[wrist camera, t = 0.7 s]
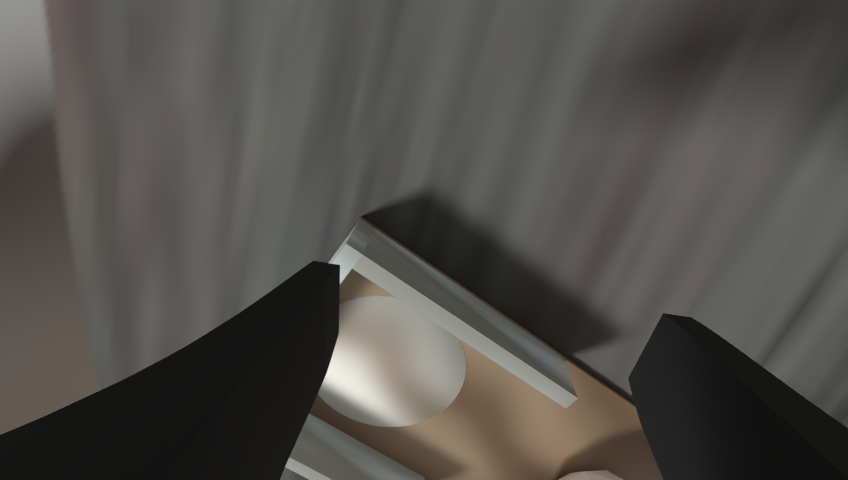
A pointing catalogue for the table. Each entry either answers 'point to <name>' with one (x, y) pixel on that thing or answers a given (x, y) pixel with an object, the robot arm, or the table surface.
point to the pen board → (452, 386)
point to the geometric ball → (591, 476)
